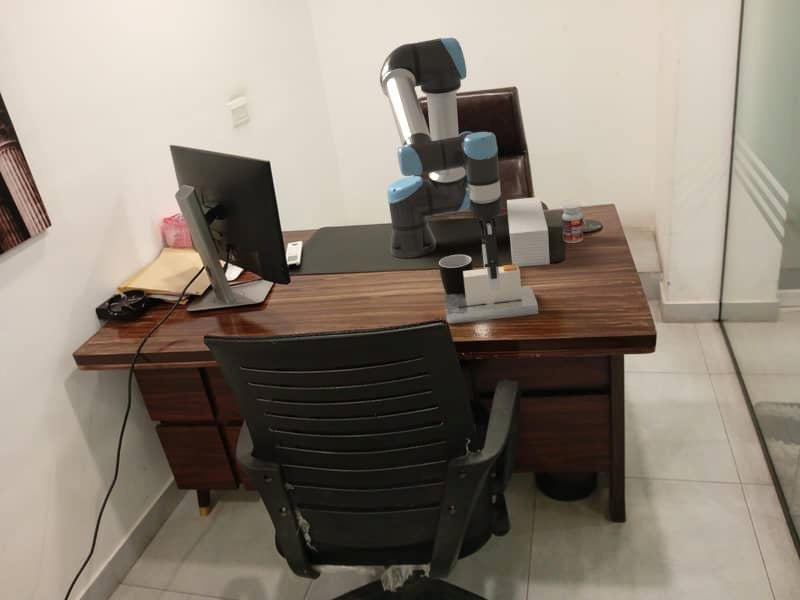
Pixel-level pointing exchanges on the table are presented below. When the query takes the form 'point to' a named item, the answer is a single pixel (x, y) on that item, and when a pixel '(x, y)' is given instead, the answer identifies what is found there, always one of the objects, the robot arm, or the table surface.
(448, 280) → the mug
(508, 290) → the white block
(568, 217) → the pill bottle
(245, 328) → the table surface
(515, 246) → the stack of papers
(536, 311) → the rail
